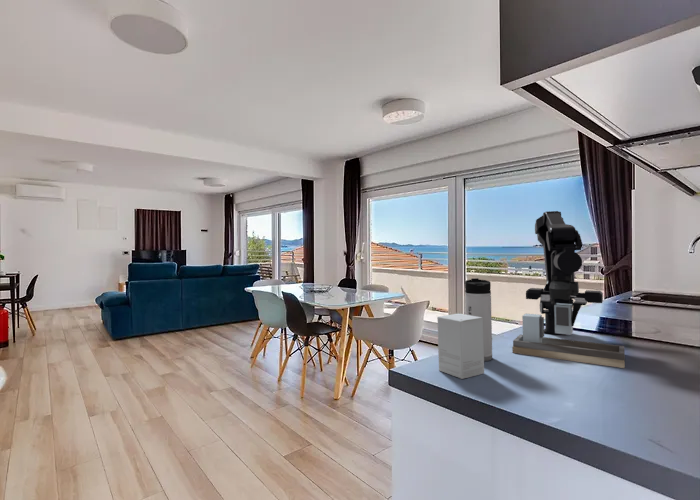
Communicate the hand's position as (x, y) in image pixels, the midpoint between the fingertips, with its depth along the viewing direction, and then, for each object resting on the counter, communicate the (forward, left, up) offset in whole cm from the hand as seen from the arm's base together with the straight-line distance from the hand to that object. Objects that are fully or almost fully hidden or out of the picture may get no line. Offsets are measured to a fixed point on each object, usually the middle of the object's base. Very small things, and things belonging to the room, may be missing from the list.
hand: (563, 325), depth 107 cm
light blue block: (0, 0, -2) cm, 2 cm away
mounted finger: (+12, -6, -4) cm, 14 cm away
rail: (+12, +2, -5) cm, 13 cm away
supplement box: (+39, -16, -6) cm, 42 cm away
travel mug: (+26, -16, -6) cm, 31 cm away
